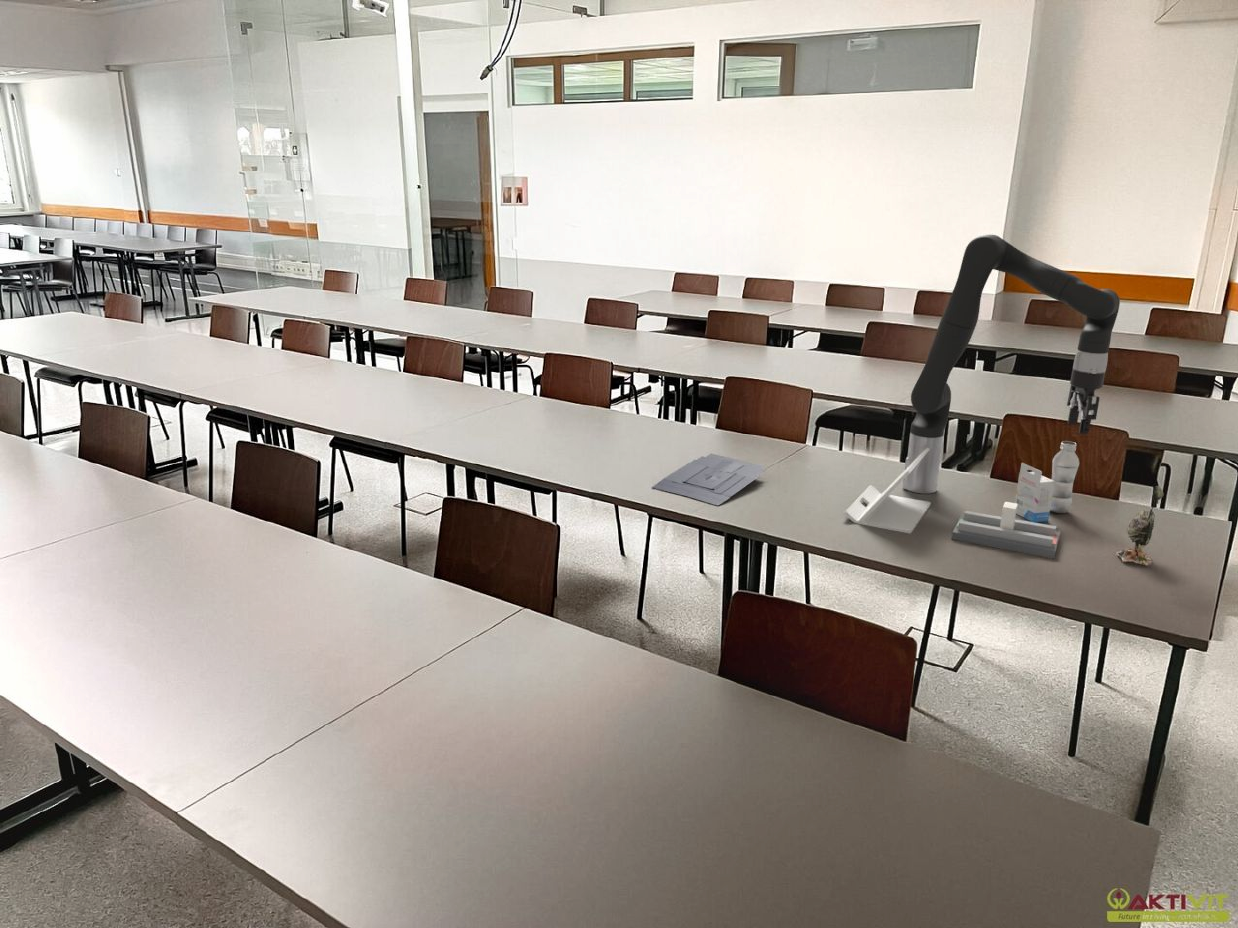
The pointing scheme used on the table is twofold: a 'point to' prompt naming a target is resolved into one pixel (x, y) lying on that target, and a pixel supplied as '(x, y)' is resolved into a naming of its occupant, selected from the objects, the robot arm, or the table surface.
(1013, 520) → the white rectangular block
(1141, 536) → the plant with pod
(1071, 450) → the plastic bottle
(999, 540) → the switch panel
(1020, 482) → the ink box
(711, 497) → the papers
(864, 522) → the tablet stand
